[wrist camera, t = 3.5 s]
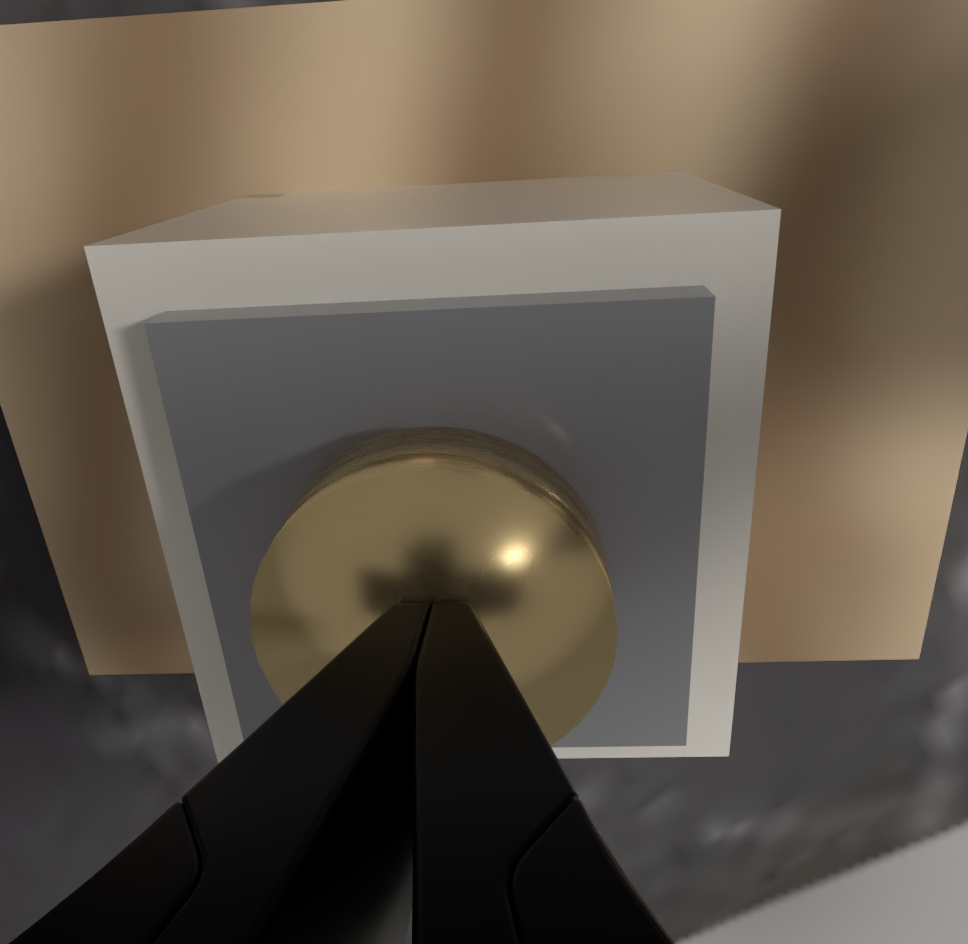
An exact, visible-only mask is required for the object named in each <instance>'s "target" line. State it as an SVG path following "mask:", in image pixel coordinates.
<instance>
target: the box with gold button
mask: <svg viewBox="0 0 968 944" xmlns="http://www.w3.org/2000/svg"><path fill="white" fill-rule="evenodd" d="M780 217H781V209H780V208H777V207H774V206H772V205H769V204H766V203H764V202H761V201H759V200H756V199H753V198H751V197H748V196H745V195H743V194H740V193H737V192H735V191H732V190H730V189H727V188H724V187H722V186H719V185H716V184H714V183H711V182H709V181H706V180H703V179H701V178H698V177H695V176H693V175H690V174H688V173H685V172H682V171H670V172H652V173H635V174H617V175H599V176H582V177H564V178H546V179H529V180H511V181H493V182H476V183H458V184H441V185H423V186H405V187H388V188H370V189H352V190H335V191H317V192H299V193H282V194H264V195H247V196H242V197H239V198H236V199H233V200H230V201H227V202H223V203H220V204H217V205H214V206H211V207H207V208H204V209H201V210H198V211H195V212H192V213H188V214H185V215H182V216H179V217H176V218H172V219H169V220H166V221H163V222H160V223H157V224H153V225H150V226H147V227H144V228H141V229H138V230H134V231H131V232H128V233H125V234H122V235H118V236H115V237H112V238H109V239H106V240H103V241H99V242H96V243H93V244H90V245H87V246H84V249H85V253H86V257H87V261H88V265H89V268H90V272H91V276H92V280H93V284H94V288H95V292H96V295H97V299H98V303H99V307H100V311H101V315H102V318H103V322H104V326H105V330H106V334H107V338H108V342H109V345H110V349H111V353H112V357H113V361H114V365H115V368H116V372H117V376H118V380H119V384H120V388H121V392H122V395H123V399H124V403H125V407H126V411H127V415H128V418H129V422H130V426H131V430H132V434H133V438H134V441H135V445H136V449H137V453H138V457H139V461H140V465H141V468H142V472H143V476H144V480H145V484H146V488H147V491H148V495H149V499H150V503H151V507H152V511H153V515H154V518H155V522H156V526H157V530H158V534H159V538H160V541H161V545H162V549H163V553H164V557H165V561H166V565H167V568H168V572H169V576H170V580H171V584H172V588H173V591H174V595H175V599H176V603H177V607H178V611H179V614H180V618H181V622H182V626H183V630H184V634H185V638H186V641H187V645H188V649H189V653H190V657H191V661H192V664H193V668H194V672H195V676H196V680H197V684H198V688H199V691H200V695H201V699H202V703H203V707H204V711H205V714H206V718H207V722H208V726H209V730H210V734H211V737H212V741H213V745H214V749H215V753H216V757H217V761H218V763H220V762H221V761H222V760H223V759H224V758H225V757H226V756H228V755H229V754H230V753H231V752H232V751H233V750H234V749H235V748H236V747H237V746H238V745H240V744H241V743H242V742H243V741H244V740H245V739H246V738H247V737H248V736H249V735H250V734H252V733H253V732H254V731H255V730H256V729H257V728H258V727H259V726H260V725H261V724H262V723H264V722H265V721H266V720H267V719H268V718H269V717H270V716H271V715H272V714H273V713H274V712H276V711H277V710H278V709H279V708H280V707H281V706H282V705H283V703H282V702H281V700H280V699H279V698H278V697H277V695H276V694H275V692H274V690H273V689H272V687H271V686H270V684H269V683H268V681H267V679H266V677H265V675H264V673H263V671H262V669H261V667H260V664H259V662H258V659H257V656H256V653H255V649H254V646H253V643H252V636H251V629H250V599H251V594H252V588H253V583H254V580H255V577H256V574H257V571H258V568H259V566H260V563H261V561H262V559H263V558H264V556H265V554H266V552H267V550H268V548H269V547H270V545H271V543H272V541H273V539H274V538H275V536H276V534H277V532H278V531H279V529H280V527H281V525H282V524H283V522H284V520H285V518H286V517H287V515H288V513H289V511H290V510H291V508H292V506H293V504H294V503H295V501H296V499H297V497H298V496H299V494H300V493H301V491H302V490H303V489H304V487H305V486H306V485H307V483H308V482H309V481H310V480H311V478H312V477H313V476H314V475H315V474H316V473H317V472H318V471H319V470H320V469H321V468H323V467H324V466H325V465H326V464H327V463H328V462H330V461H331V460H332V459H334V458H335V457H336V456H338V455H339V454H341V453H342V452H343V451H345V450H347V449H349V448H351V447H353V446H355V445H357V444H359V443H360V442H362V441H365V440H368V439H370V438H373V437H376V436H378V435H381V434H384V433H389V432H393V431H397V430H402V429H407V428H417V427H427V426H433V427H455V428H462V429H469V430H475V431H479V432H483V433H486V434H490V435H494V436H497V437H500V438H502V439H505V440H507V441H509V442H512V443H514V444H517V445H519V446H521V447H522V448H524V449H526V450H528V451H530V452H531V453H533V454H535V455H537V456H538V457H540V458H541V459H542V460H544V461H545V462H546V463H548V464H549V465H550V466H552V467H553V468H554V469H556V470H557V471H558V472H559V473H560V474H561V475H562V476H563V477H564V478H565V479H566V480H567V481H568V482H569V483H570V484H571V485H572V486H573V488H574V489H575V490H576V492H577V493H578V494H579V495H580V497H581V498H582V499H583V501H584V502H585V504H586V506H587V507H588V509H589V511H590V513H591V514H592V516H593V518H594V520H595V523H596V525H597V528H598V530H599V533H600V536H601V539H602V543H603V548H604V552H605V557H606V562H607V567H608V573H609V578H610V583H611V588H612V593H613V598H614V604H615V609H616V615H617V630H618V636H617V647H616V655H615V659H614V663H613V666H612V670H611V674H610V676H609V678H608V680H607V683H606V685H605V687H604V690H603V692H602V693H601V695H600V696H599V698H598V700H597V701H596V703H595V704H594V706H593V708H592V709H591V710H590V711H589V712H588V713H587V715H586V716H585V717H584V718H583V719H582V721H581V722H580V723H579V724H578V725H577V726H575V727H574V728H573V729H572V730H571V731H570V732H569V733H568V734H567V735H565V736H564V737H563V738H561V739H560V740H558V741H557V742H556V743H554V744H553V745H551V748H552V749H553V751H554V753H555V755H556V757H557V758H629V757H710V756H729V750H730V740H731V729H732V719H733V708H734V698H735V688H736V677H737V667H738V656H739V646H740V635H741V625H742V614H743V604H744V593H745V583H746V573H747V562H748V552H749V541H750V531H751V520H752V510H753V499H754V489H755V478H756V468H757V458H758V447H759V437H760V426H761V416H762V405H763V395H764V384H765V374H766V363H767V353H768V343H769V332H770V322H771V311H772V301H773V290H774V280H775V269H776V259H777V248H778V238H779V228H780Z"/></svg>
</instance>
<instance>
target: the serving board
mask: <svg viewBox="0 0 968 944" xmlns="http://www.w3.org/2000/svg"><path fill="white" fill-rule="evenodd" d="M670 171H682V172H685V173H688V174H690V175H693V176H695V177H698V178H701V179H703V180H706V181H709V182H711V183H714V184H716V185H719V186H722V187H724V188H727V189H730V190H732V191H735V192H737V193H740V194H743V195H745V196H748V197H751V198H753V199H756V200H759V201H761V202H764V203H766V204H769V205H772V206H774V207H777V208H780V209H781V217H780V228H779V238H778V248H777V259H776V269H775V280H774V290H773V301H772V311H771V322H770V332H769V343H768V353H767V363H766V374H765V384H764V395H763V405H762V416H761V426H760V437H759V447H758V458H757V468H756V478H755V489H754V499H753V510H752V520H751V531H750V541H749V552H748V562H747V573H746V583H745V593H744V604H743V614H742V625H741V635H740V646H739V656H738V663H740V662H791V661H843V660H895V659H919V656H920V652H921V647H922V642H923V638H924V633H925V628H926V624H927V619H928V614H929V609H930V605H931V600H932V595H933V591H934V586H935V581H936V577H937V572H938V567H939V563H940V558H941V553H942V548H943V544H944V539H945V534H946V530H947V525H948V520H949V516H950V511H951V506H952V502H953V497H954V492H955V487H956V483H957V478H958V473H959V469H960V464H961V459H962V455H963V450H964V445H965V441H966V436H967V431H968V0H346V1H332V2H318V3H304V4H290V5H276V6H262V7H248V8H234V9H220V10H206V11H192V12H178V13H164V14H150V15H136V16H122V17H108V18H94V19H80V20H66V21H52V22H38V23H24V24H10V25H0V405H1V408H2V411H3V414H4V417H5V420H6V423H7V426H8V429H9V432H10V435H11V438H12V441H13V444H14V447H15V450H16V453H17V456H18V459H19V462H20V465H21V468H22V471H23V474H24V477H25V481H26V484H27V487H28V490H29V493H30V496H31V499H32V502H33V505H34V508H35V511H36V514H37V517H38V520H39V523H40V526H41V529H42V532H43V535H44V538H45V541H46V544H47V547H48V550H49V553H50V556H51V559H52V562H53V565H54V569H55V572H56V575H57V578H58V581H59V584H60V587H61V590H62V593H63V596H64V599H65V602H66V605H67V608H68V611H69V614H70V617H71V620H72V623H73V626H74V629H75V632H76V635H77V638H78V641H79V644H80V647H81V650H82V653H83V657H84V660H85V663H86V666H87V669H88V672H89V675H120V674H172V673H195V672H194V668H193V664H192V661H191V657H190V653H189V649H188V645H187V641H186V638H185V634H184V630H183V626H182V622H181V618H180V614H179V611H178V607H177V603H176V599H175V595H174V591H173V588H172V584H171V580H170V576H169V572H168V568H167V565H166V561H165V557H164V553H163V549H162V545H161V541H160V538H159V534H158V530H157V526H156V522H155V518H154V515H153V511H152V507H151V503H150V499H149V495H148V491H147V488H146V484H145V480H144V476H143V472H142V468H141V465H140V461H139V457H138V453H137V449H136V445H135V441H134V438H133V434H132V430H131V426H130V422H129V418H128V415H127V411H126V407H125V403H124V399H123V395H122V392H121V388H120V384H119V380H118V376H117V372H116V368H115V365H114V361H113V357H112V353H111V349H110V345H109V342H108V338H107V334H106V330H105V326H104V322H103V318H102V315H101V311H100V307H99V303H98V299H97V295H96V292H95V288H94V284H93V280H92V276H91V272H90V268H89V265H88V261H87V257H86V253H85V249H84V246H87V245H90V244H93V243H96V242H99V241H103V240H106V239H109V238H112V237H115V236H118V235H122V234H125V233H128V232H131V231H134V230H138V229H141V228H144V227H147V226H150V225H153V224H157V223H160V222H163V221H166V220H169V219H172V218H176V217H179V216H182V215H185V214H188V213H192V212H195V211H198V210H201V209H204V208H207V207H211V206H214V205H217V204H220V203H223V202H227V201H230V200H233V199H236V198H239V197H242V196H247V195H264V194H282V193H299V192H317V191H335V190H352V189H370V188H388V187H405V186H423V185H441V184H458V183H476V182H493V181H511V180H529V179H546V178H564V177H582V176H599V175H617V174H635V173H652V172H670Z"/></svg>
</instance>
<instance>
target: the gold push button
mask: <svg viewBox="0 0 968 944" xmlns="http://www.w3.org/2000/svg"><path fill="white" fill-rule="evenodd" d="M438 602H468V603H470V604H471V605H472V606H473V608H474V610H475V612H476V613H477V615H478V617H479V619H480V621H481V622H482V624H483V626H484V628H485V629H486V631H487V633H488V635H489V637H490V638H491V640H492V642H493V644H494V646H495V647H496V649H497V651H498V653H499V655H500V656H501V658H502V660H503V662H504V663H505V665H506V667H507V669H508V671H509V672H510V674H511V676H512V678H513V680H514V681H515V683H516V685H517V687H518V689H519V690H520V692H521V694H522V696H523V697H524V699H525V701H526V703H527V705H528V706H529V708H530V710H531V712H532V714H533V715H534V717H535V719H536V721H537V723H538V724H539V726H540V728H541V730H542V731H543V733H544V735H545V737H546V739H547V740H548V742H549V744H550V746H551V745H553V744H554V743H556V742H557V741H558V740H560V739H561V738H563V737H564V736H565V735H567V734H568V733H569V732H570V731H571V730H572V729H573V728H574V727H575V726H577V725H578V724H579V723H580V722H581V721H582V719H583V718H584V717H585V716H586V715H587V713H588V712H589V711H590V710H591V709H592V708H593V706H594V704H595V703H596V701H597V700H598V698H599V696H600V695H601V693H602V692H603V690H604V687H605V685H606V683H607V680H608V678H609V676H610V674H611V670H612V666H613V663H614V659H615V655H616V647H617V636H618V630H617V615H616V609H615V604H614V598H613V593H612V588H611V583H610V578H609V573H608V567H607V562H606V557H605V552H604V548H603V543H602V539H601V536H600V533H599V530H598V528H597V525H596V523H595V520H594V518H593V516H592V514H591V513H590V511H589V509H588V507H587V506H586V504H585V502H584V501H583V499H582V498H581V497H580V495H579V494H578V493H577V492H576V490H575V489H574V488H573V486H572V485H571V484H570V483H569V482H568V481H567V480H566V479H565V478H564V477H563V476H562V475H561V474H560V473H559V472H558V471H557V470H556V469H554V468H553V467H552V466H550V465H549V464H548V463H546V462H545V461H544V460H542V459H541V458H540V457H538V456H537V455H535V454H533V453H531V452H530V451H528V450H526V449H524V448H522V447H521V446H519V445H517V444H514V443H512V442H509V441H507V440H505V439H502V438H500V437H497V436H494V435H490V434H486V433H483V432H479V431H475V430H469V429H462V428H455V427H433V426H427V427H417V428H407V429H402V430H397V431H393V432H389V433H384V434H381V435H378V436H376V437H373V438H370V439H368V440H365V441H362V442H360V443H359V444H357V445H355V446H353V447H351V448H349V449H347V450H345V451H343V452H342V453H341V454H339V455H338V456H336V457H335V458H334V459H332V460H331V461H330V462H328V463H327V464H326V465H325V466H324V467H323V468H321V469H320V470H319V471H318V472H317V473H316V474H315V475H314V476H313V477H312V478H311V480H310V481H309V482H308V483H307V485H306V486H305V487H304V489H303V490H302V491H301V493H300V494H299V496H298V497H297V499H296V501H295V503H294V504H293V506H292V508H291V510H290V511H289V513H288V515H287V517H286V518H285V520H284V522H283V524H282V525H281V527H280V529H279V531H278V532H277V534H276V536H275V538H274V539H273V541H272V543H271V545H270V547H269V548H268V550H267V552H266V554H265V556H264V558H263V559H262V561H261V563H260V566H259V568H258V571H257V574H256V577H255V580H254V583H253V588H252V594H251V599H250V629H251V636H252V643H253V646H254V649H255V653H256V656H257V659H258V662H259V664H260V667H261V669H262V671H263V673H264V675H265V677H266V679H267V681H268V683H269V684H270V686H271V687H272V689H273V690H274V692H275V694H276V695H277V697H278V698H279V699H280V700H281V702H282V703H283V704H284V703H285V702H286V701H288V700H289V699H290V698H291V697H292V696H293V695H294V694H295V693H296V692H297V691H298V690H300V689H301V688H302V687H303V686H304V685H305V684H306V683H307V682H308V681H309V680H310V679H312V678H313V677H314V676H315V675H316V674H317V673H318V672H319V671H320V670H321V669H322V668H324V667H325V666H326V665H327V664H328V663H329V662H330V661H331V660H332V659H333V658H334V657H336V656H337V655H338V654H339V653H340V652H341V651H342V650H343V649H344V648H345V647H346V646H348V645H349V644H350V643H351V642H352V641H353V640H354V639H355V638H356V637H357V636H358V635H360V634H361V633H362V632H363V631H364V630H365V629H366V628H367V627H368V626H369V625H370V624H372V623H373V622H374V621H375V620H376V619H377V618H378V617H379V616H380V615H381V614H382V613H384V612H385V611H386V610H387V609H388V608H389V607H390V606H392V605H393V604H396V603H428V604H429V605H430V606H431V608H432V606H433V605H434V604H435V603H438Z"/></svg>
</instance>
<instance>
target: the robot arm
mask: <svg viewBox="0 0 968 944" xmlns="http://www.w3.org/2000/svg"><path fill="white" fill-rule="evenodd" d="M182 804H183V805H182ZM411 908H412V944H675V943H674V942H673V941H672V939H671V938H670V937H669V935H668V934H667V933H666V931H665V930H664V929H663V927H662V926H661V924H660V923H659V922H658V920H657V919H656V917H655V916H654V915H653V913H652V912H651V910H650V909H649V908H648V906H647V905H646V903H645V902H644V901H643V899H642V898H641V896H640V895H639V894H638V892H637V891H636V889H635V888H634V887H633V885H632V884H631V882H630V881H629V880H628V878H627V877H626V875H625V873H624V872H623V870H622V868H621V867H620V865H619V864H618V862H617V860H616V859H615V857H614V855H613V854H612V852H611V850H610V849H609V847H608V846H607V844H606V842H605V841H604V839H603V837H602V836H601V834H600V833H599V831H598V829H597V827H596V825H595V824H594V822H593V820H592V818H591V817H590V815H589V813H588V811H587V809H586V808H585V806H584V804H583V802H582V801H581V800H578V794H577V792H576V791H575V789H574V787H573V785H572V783H571V782H570V780H569V778H568V776H567V774H566V773H565V771H564V769H563V767H562V766H561V764H560V762H559V760H558V758H557V757H556V755H555V753H554V751H553V749H552V748H551V746H550V744H549V742H548V740H547V739H546V737H545V735H544V733H543V731H542V730H541V728H540V726H539V724H538V723H537V721H536V719H535V717H534V715H533V714H532V712H531V710H530V708H529V706H528V705H527V703H526V701H525V699H524V697H523V696H522V694H521V692H520V690H519V689H518V687H517V685H516V683H515V681H514V680H513V678H512V676H511V674H510V672H509V671H508V669H507V667H506V665H505V663H504V662H503V660H502V658H501V656H500V655H499V653H498V651H497V649H496V647H495V646H494V644H493V642H492V640H491V638H490V637H489V635H488V633H487V631H486V629H485V628H484V626H483V624H482V622H481V621H480V619H479V617H478V615H477V613H476V612H475V610H474V608H473V606H472V605H471V604H470V603H468V602H438V603H435V604H434V605H433V606H432V608H431V606H430V605H429V604H428V603H396V604H393V605H392V606H390V607H389V608H388V609H387V610H386V611H385V612H384V613H382V614H381V615H380V616H379V617H378V618H377V619H376V620H375V621H374V622H373V623H372V624H370V625H369V626H368V627H367V628H366V629H365V630H364V631H363V632H362V633H361V634H360V635H358V636H357V637H356V638H355V639H354V640H353V641H352V642H351V643H350V644H349V645H348V646H346V647H345V648H344V649H343V650H342V651H341V652H340V653H339V654H338V655H337V656H336V657H334V658H333V659H332V660H331V661H330V662H329V663H328V664H327V665H326V666H325V667H324V668H322V669H321V670H320V671H319V672H318V673H317V674H316V675H315V676H314V677H313V678H312V679H310V680H309V681H308V682H307V683H306V684H305V685H304V686H303V687H302V688H301V689H300V690H298V691H297V692H296V693H295V694H294V695H293V696H292V697H291V698H290V699H289V700H288V701H286V702H285V703H284V704H283V705H282V706H281V707H280V708H279V709H278V710H277V711H276V712H274V713H273V714H272V715H271V716H270V717H269V718H268V719H267V720H266V721H265V722H264V723H262V724H261V725H260V726H259V727H258V728H257V729H256V730H255V731H254V732H253V733H252V734H250V735H249V736H248V737H247V738H246V739H245V740H244V741H243V742H242V743H241V744H240V745H238V746H237V747H236V748H235V749H234V750H233V751H232V752H231V753H230V754H229V755H228V756H226V757H225V758H224V759H223V760H222V761H221V762H220V763H219V764H218V765H217V766H216V767H214V768H213V769H212V770H211V771H210V772H209V773H208V774H207V775H206V776H205V777H204V778H202V779H201V780H200V781H199V782H198V783H197V784H196V785H195V786H194V787H193V788H192V789H190V790H189V791H188V792H187V793H186V794H185V795H184V796H183V798H182V803H175V804H174V805H173V806H171V807H170V808H169V809H168V810H167V811H166V812H165V813H164V814H163V815H162V816H161V817H159V818H158V819H157V820H156V821H155V822H154V823H153V824H152V825H151V826H150V827H149V828H147V829H146V830H145V831H144V832H143V833H142V834H141V835H140V836H138V837H137V838H136V839H135V840H134V841H133V842H132V843H130V844H129V845H128V846H127V847H126V848H125V849H124V850H122V851H121V852H120V853H119V854H118V855H117V856H116V857H114V858H113V859H112V860H111V861H110V862H109V863H108V864H106V865H105V866H104V867H103V868H102V869H101V870H100V871H98V872H97V873H96V874H95V875H94V876H93V877H91V878H90V879H89V880H88V881H86V882H85V883H84V884H83V885H82V886H80V887H79V888H78V889H77V890H75V891H74V892H73V893H72V894H70V895H69V896H68V897H67V898H65V899H64V900H63V901H62V902H60V903H59V904H58V905H57V906H56V907H54V908H53V909H52V910H51V911H49V912H48V913H47V914H46V915H44V916H43V917H42V918H41V919H39V920H38V921H37V922H36V923H35V924H33V925H32V926H31V927H30V928H28V929H27V930H26V931H24V932H23V933H22V934H21V935H19V936H18V937H17V938H15V939H14V940H13V941H12V942H10V943H9V944H405V939H406V933H407V928H408V923H409V918H410V913H411Z"/></svg>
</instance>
